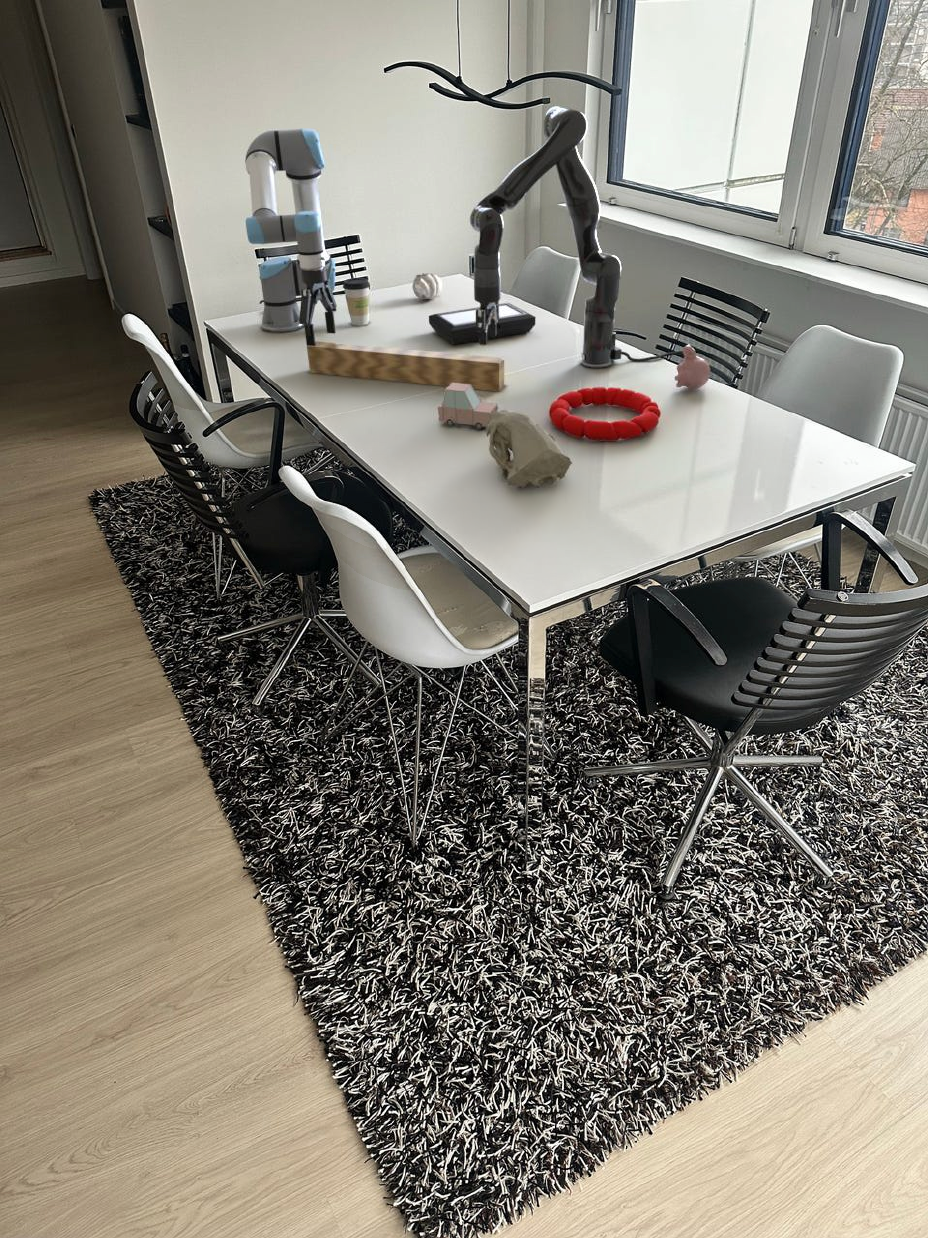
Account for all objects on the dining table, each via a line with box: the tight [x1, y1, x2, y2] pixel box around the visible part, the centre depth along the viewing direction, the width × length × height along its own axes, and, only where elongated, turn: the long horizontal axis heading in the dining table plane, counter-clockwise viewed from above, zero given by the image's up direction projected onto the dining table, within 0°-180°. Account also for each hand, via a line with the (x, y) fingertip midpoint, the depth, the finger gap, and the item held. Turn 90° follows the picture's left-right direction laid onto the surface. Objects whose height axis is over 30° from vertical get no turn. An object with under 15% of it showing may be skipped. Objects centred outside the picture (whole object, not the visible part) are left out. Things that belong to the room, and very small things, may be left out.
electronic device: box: [428, 302, 537, 345], centre depth 312 cm, size 32×6×20 cm
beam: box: [306, 340, 505, 392], centre depth 274 cm, size 64×5×9 cm, turn 70°
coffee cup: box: [342, 277, 371, 327], centre depth 323 cm, size 10×10×15 cm
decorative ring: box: [548, 386, 661, 442], centre depth 242 cm, size 7×30×30 cm
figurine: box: [674, 344, 711, 390], centre depth 259 cm, size 9×11×12 cm
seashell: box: [411, 272, 443, 300], centre depth 348 cm, size 10×15×10 cm
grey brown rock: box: [485, 409, 573, 489], centre depth 216 cm, size 17×25×20 cm
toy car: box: [437, 383, 499, 431], centre depth 243 cm, size 9×15×10 cm, turn 70°
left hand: (321, 339), depth 279 cm, fingers open, 13 cm apart
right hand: (488, 340), depth 261 cm, fingers open, 8 cm apart
